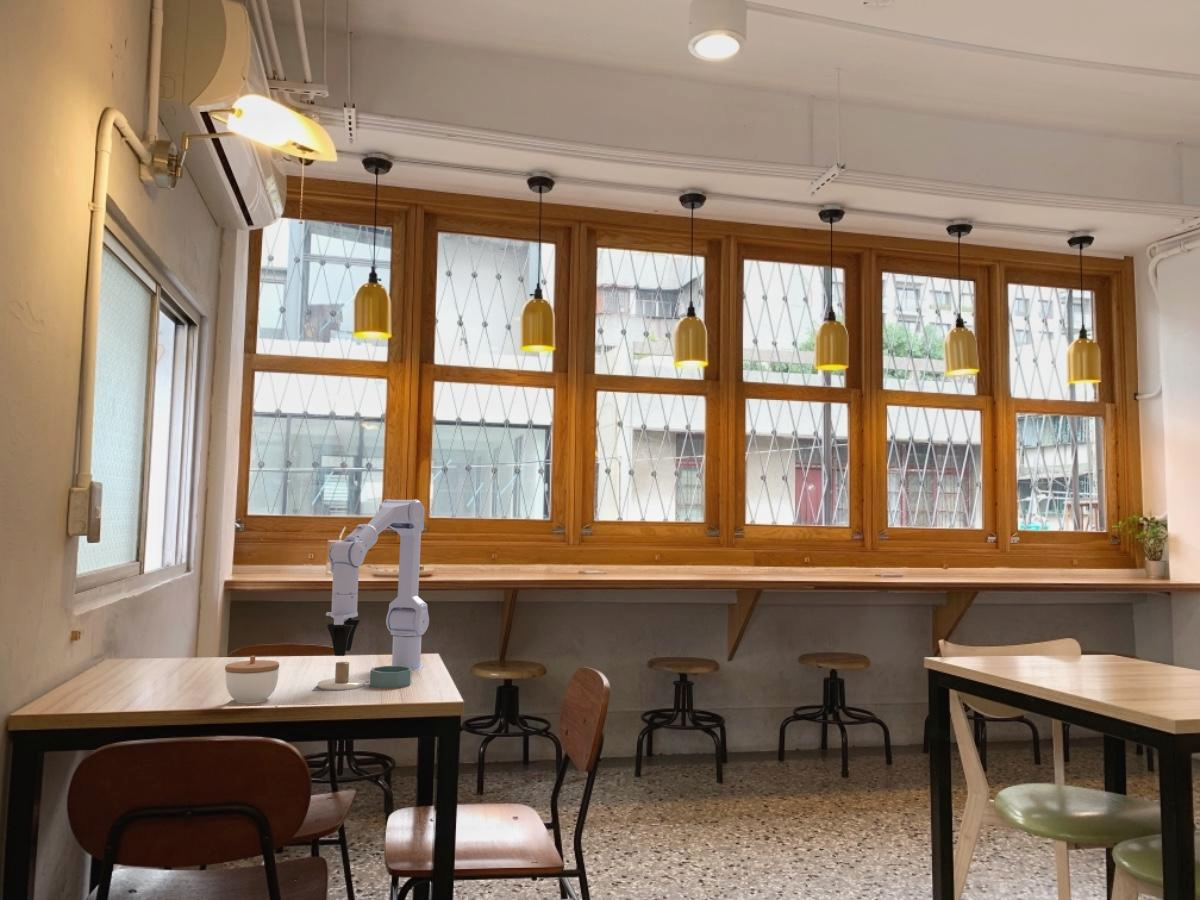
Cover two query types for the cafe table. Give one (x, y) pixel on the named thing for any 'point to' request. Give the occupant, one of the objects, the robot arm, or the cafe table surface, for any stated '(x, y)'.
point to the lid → (341, 679)
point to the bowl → (390, 676)
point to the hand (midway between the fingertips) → (342, 653)
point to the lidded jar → (251, 680)
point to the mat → (327, 690)
